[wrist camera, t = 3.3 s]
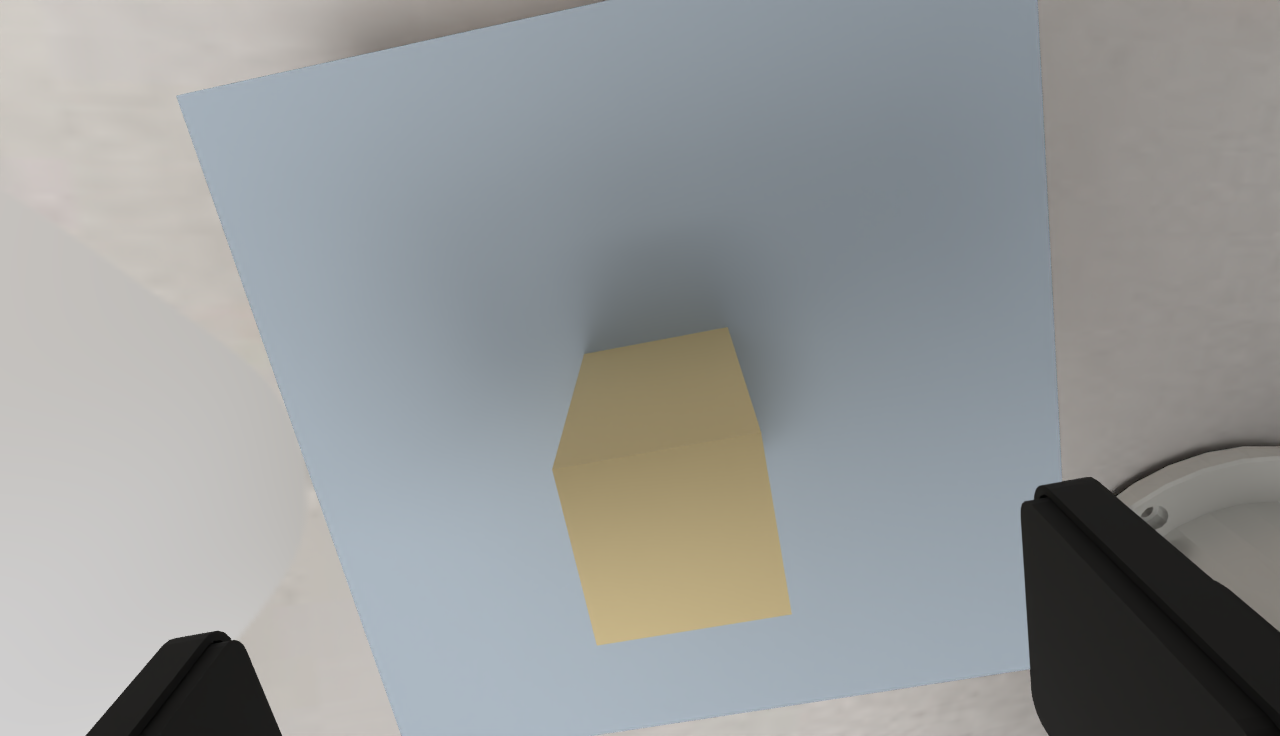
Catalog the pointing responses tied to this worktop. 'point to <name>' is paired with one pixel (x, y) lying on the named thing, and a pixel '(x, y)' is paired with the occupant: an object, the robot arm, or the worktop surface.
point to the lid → (661, 348)
